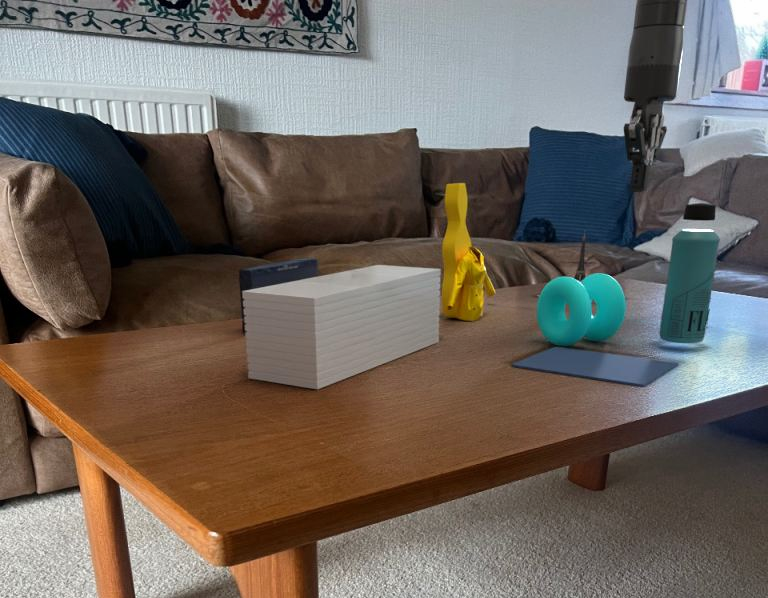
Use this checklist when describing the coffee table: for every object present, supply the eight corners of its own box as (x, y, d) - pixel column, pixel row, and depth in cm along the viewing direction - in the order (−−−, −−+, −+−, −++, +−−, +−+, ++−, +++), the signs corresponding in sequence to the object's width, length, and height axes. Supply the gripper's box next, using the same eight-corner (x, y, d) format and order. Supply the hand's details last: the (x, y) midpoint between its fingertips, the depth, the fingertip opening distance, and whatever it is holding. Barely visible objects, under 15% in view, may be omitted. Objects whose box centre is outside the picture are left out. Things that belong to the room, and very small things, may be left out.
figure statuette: (459, 328, 130) (465, 184, 121) (418, 323, 133) (421, 183, 124) (503, 312, 143) (511, 182, 134) (464, 308, 147) (470, 181, 138)
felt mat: (678, 365, 106) (678, 363, 105) (643, 387, 95) (643, 384, 95) (554, 348, 115) (555, 346, 115) (511, 366, 105) (511, 364, 105)
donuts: (625, 345, 117) (634, 276, 113) (576, 353, 112) (584, 281, 108) (577, 334, 125) (584, 269, 121) (530, 340, 120) (535, 273, 116)
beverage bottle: (683, 355, 111) (707, 204, 103) (646, 347, 116) (666, 202, 108) (712, 350, 114) (738, 203, 106) (675, 342, 119) (696, 201, 111)
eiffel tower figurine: (626, 301, 155) (635, 230, 150) (602, 307, 149) (610, 233, 143) (559, 293, 165) (565, 226, 159) (534, 299, 158) (539, 229, 152)
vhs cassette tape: (253, 335, 124) (249, 269, 120) (239, 333, 125) (235, 268, 121) (321, 317, 138) (320, 258, 134) (308, 316, 140) (306, 257, 136)
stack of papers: (317, 389, 94) (314, 298, 89) (248, 378, 99) (242, 291, 94) (438, 342, 119) (440, 268, 114) (378, 335, 124) (378, 264, 119)
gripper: (665, 58, 108) (647, 193, 115) (692, 67, 118) (675, 191, 125) (612, 62, 112) (599, 192, 119) (643, 70, 122) (629, 190, 129)
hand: (638, 191), depth 122 cm, fingers closed
